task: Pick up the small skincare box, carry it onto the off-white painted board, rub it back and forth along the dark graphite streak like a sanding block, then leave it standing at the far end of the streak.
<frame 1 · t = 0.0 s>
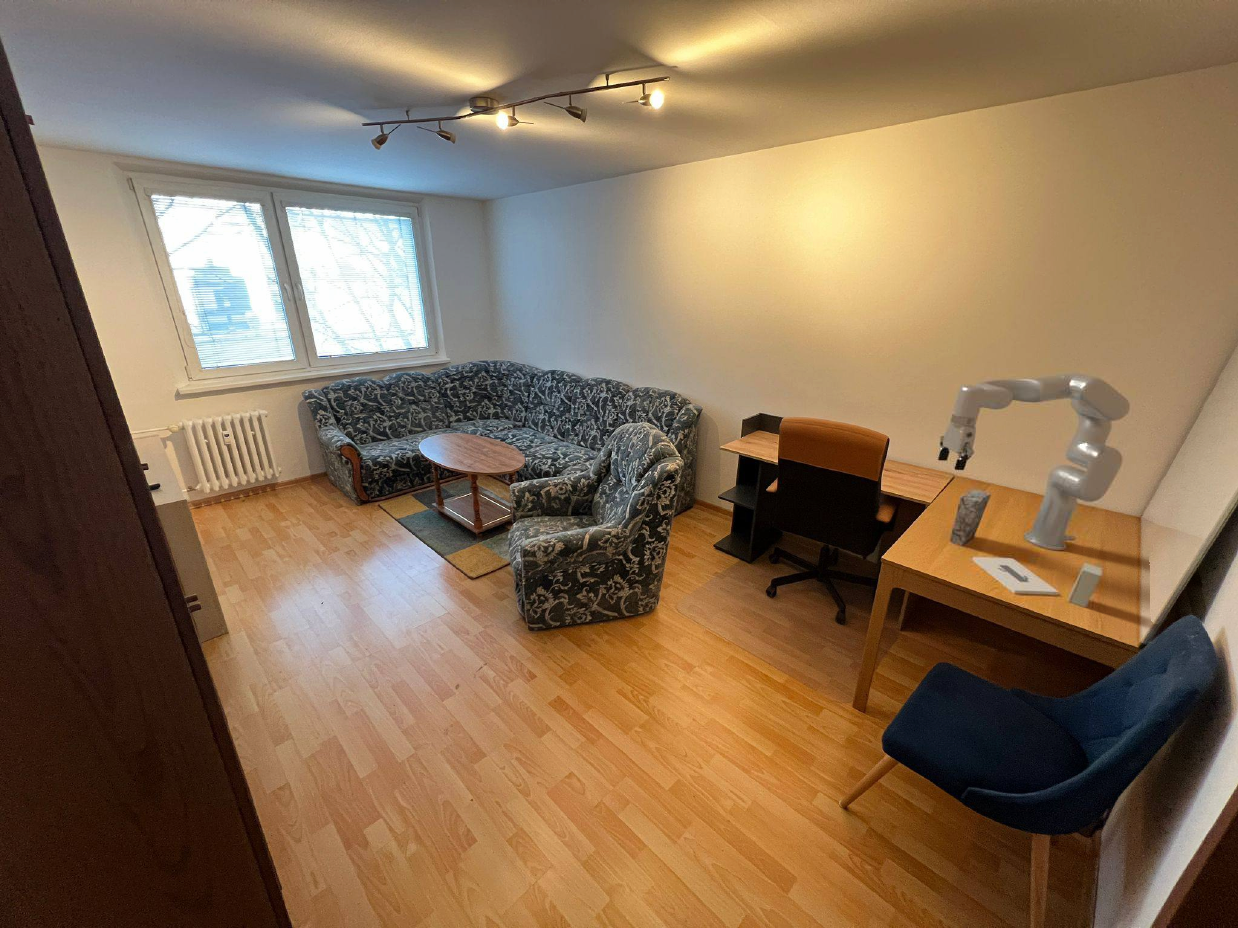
hand: (950, 464, 175), 31 cm above the table, fingers open, 9 cm apart
board: (1012, 576, 163), on the table
skincare box: (1077, 601, 151), on the table
stone block: (961, 540, 186), on the table
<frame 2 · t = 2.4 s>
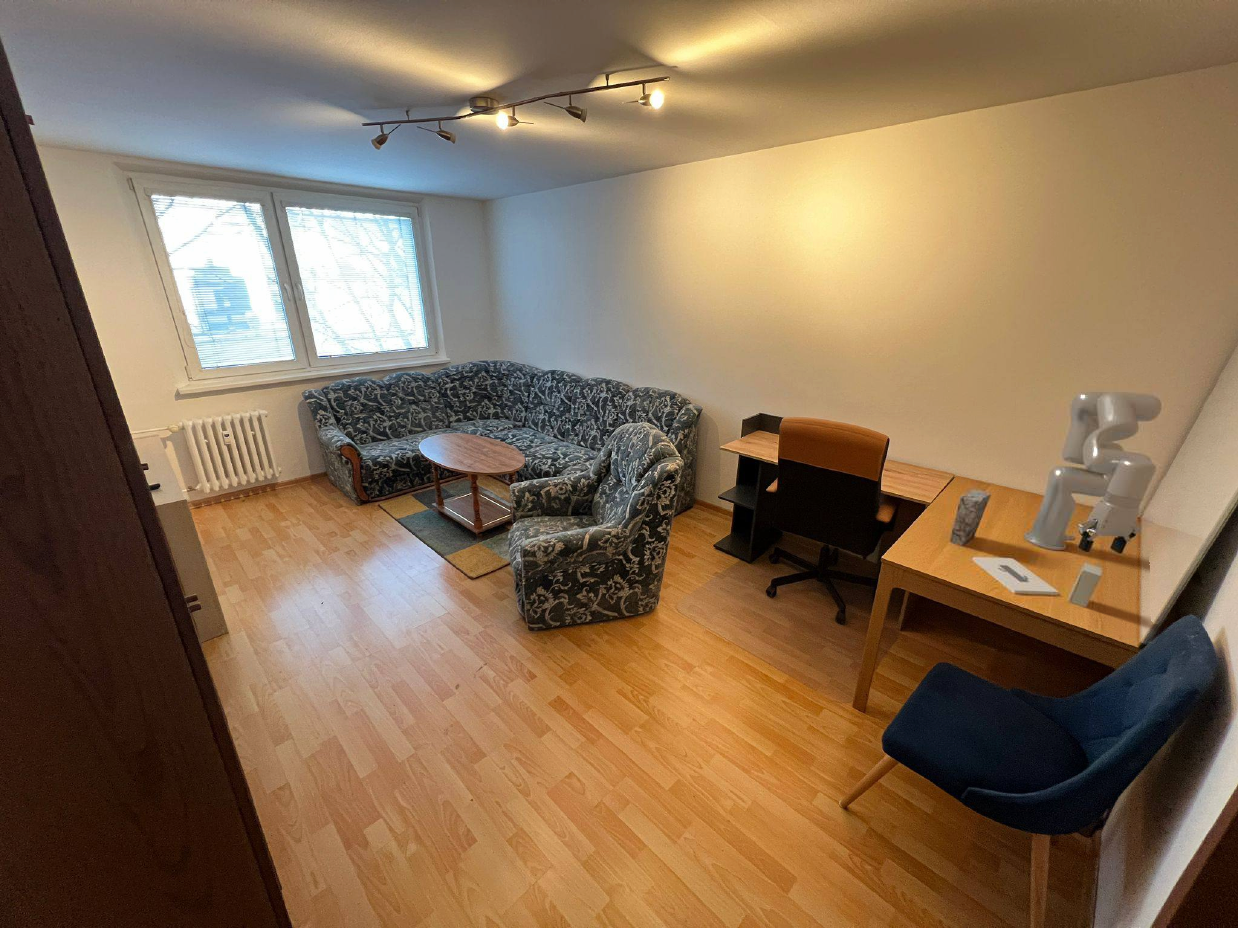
hand: (1099, 550, 144), 18 cm above the table, fingers open, 9 cm apart
nothing on the table moved.
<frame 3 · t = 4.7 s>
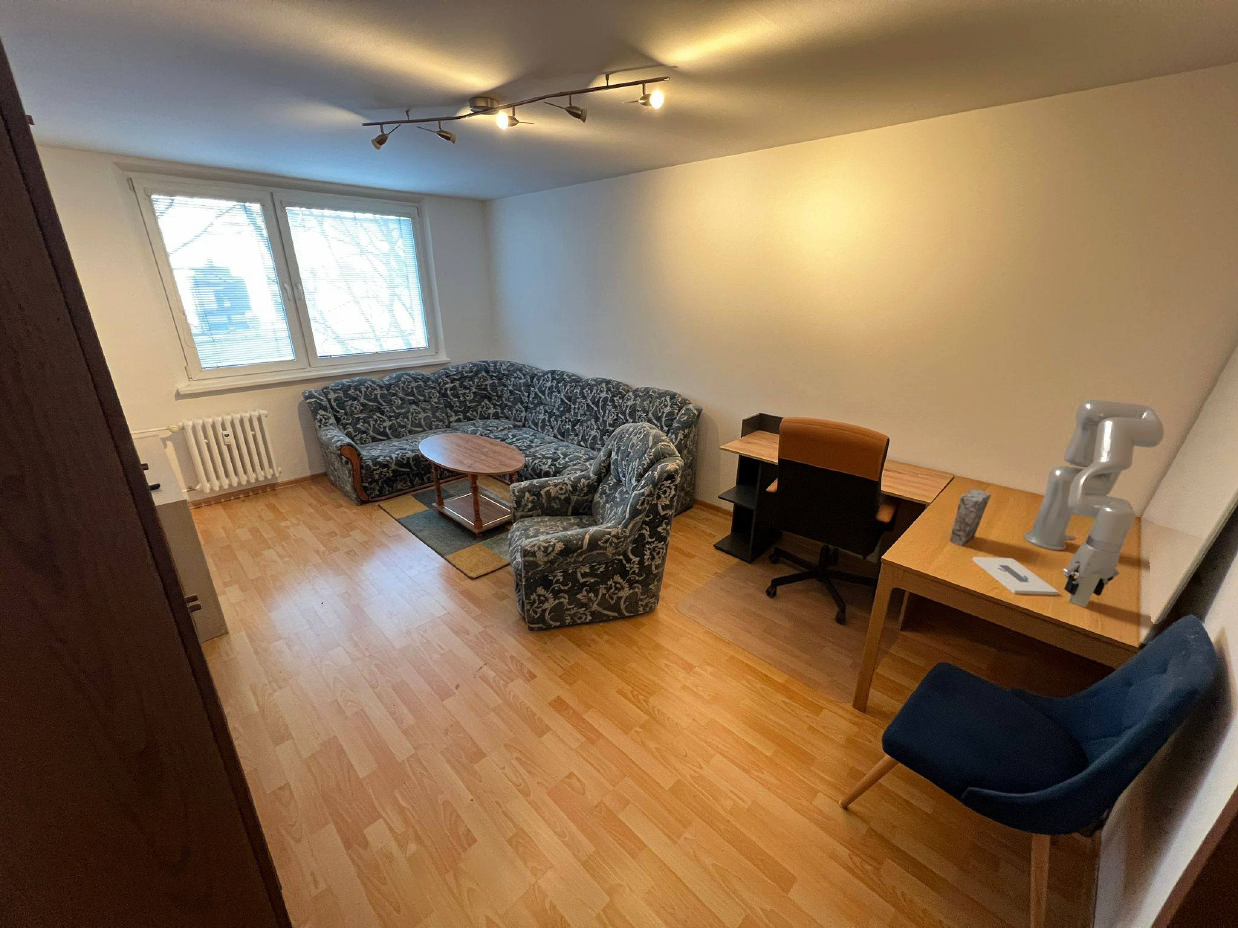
hand: (1081, 592, 150), 3 cm above the table, fingers closed on skincare box, 7 cm apart
skincare box: (1077, 601, 151), on the table, touching gripper
everything else where it was.
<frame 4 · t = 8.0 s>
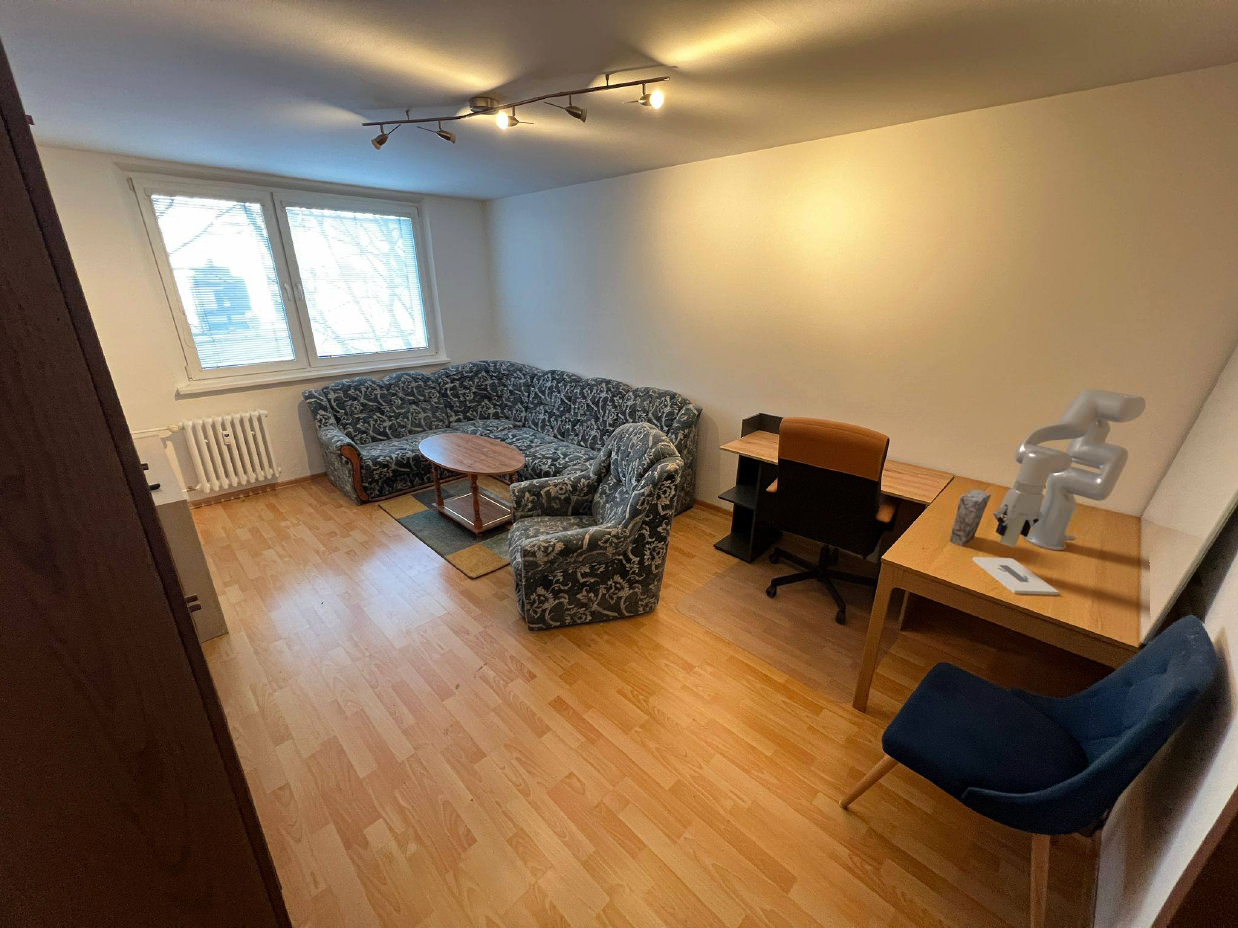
hand: (1011, 534, 164), 13 cm above the table, fingers closed on skincare box, 7 cm apart
skincare box: (1008, 543, 165), point 10 cm above the table, touching gripper
everything else where it was.
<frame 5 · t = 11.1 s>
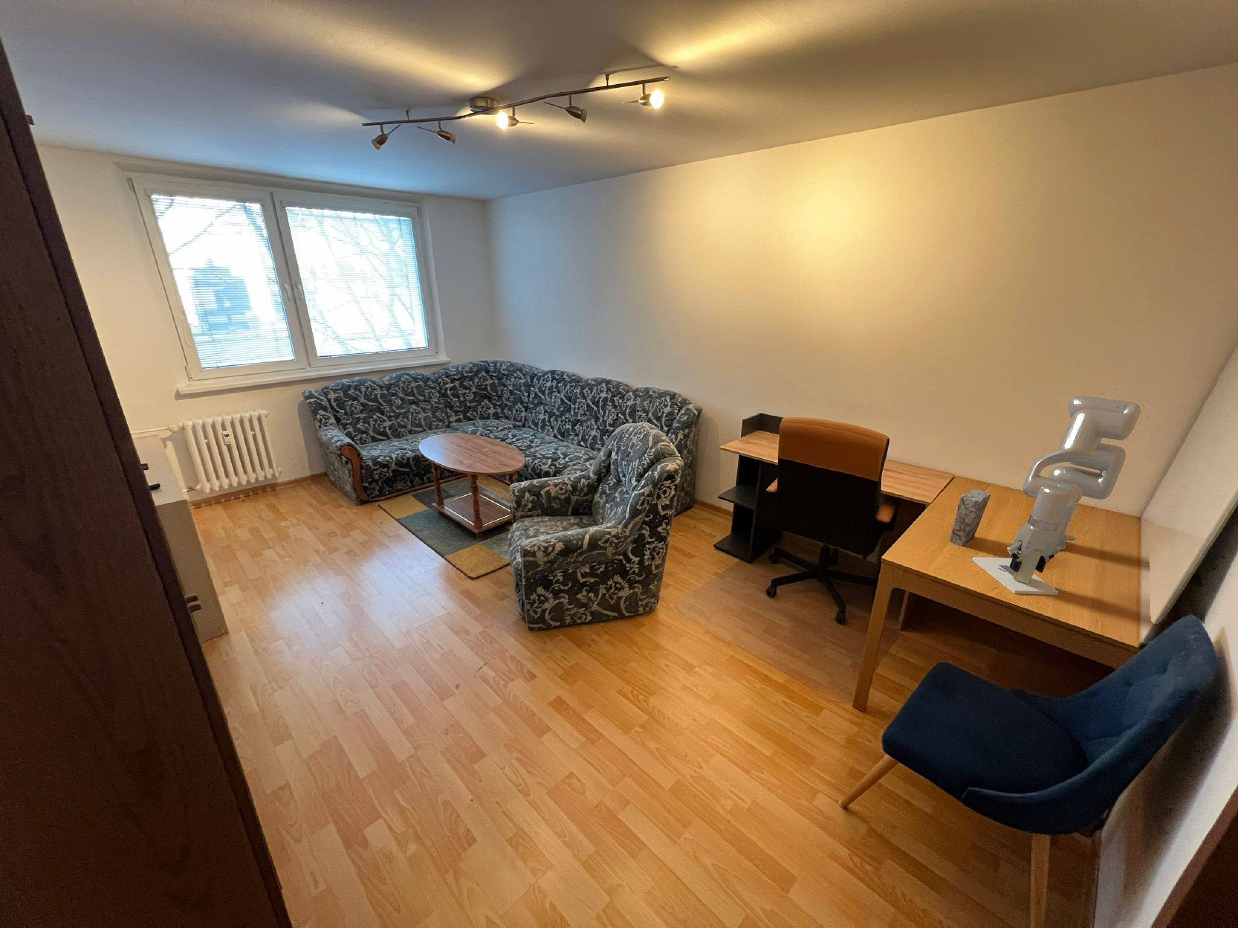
hand: (1025, 569, 158), 5 cm above the table, fingers closed on skincare box, 7 cm apart
skincare box: (1022, 578, 159), point 1 cm above the table, touching gripper
everything else where it was.
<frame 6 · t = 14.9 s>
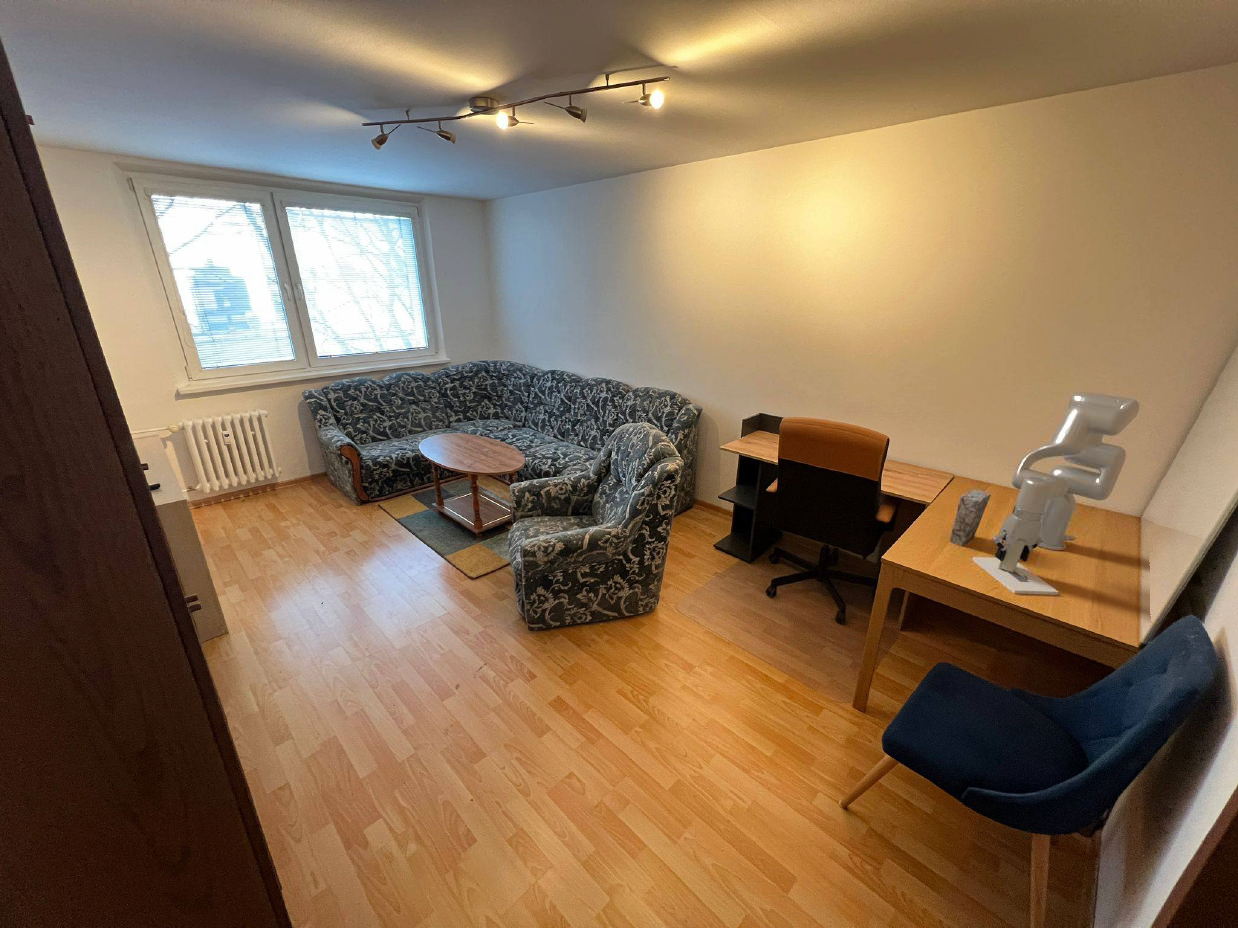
hand: (1010, 558, 164), 5 cm above the table, fingers closed on skincare box, 7 cm apart
skincare box: (1007, 567, 165), point 1 cm above the table, touching gripper
everything else where it was.
when the fingers open (5 cm above the table, at t = 17.8 s): skincare box stays where it is, resting on board.
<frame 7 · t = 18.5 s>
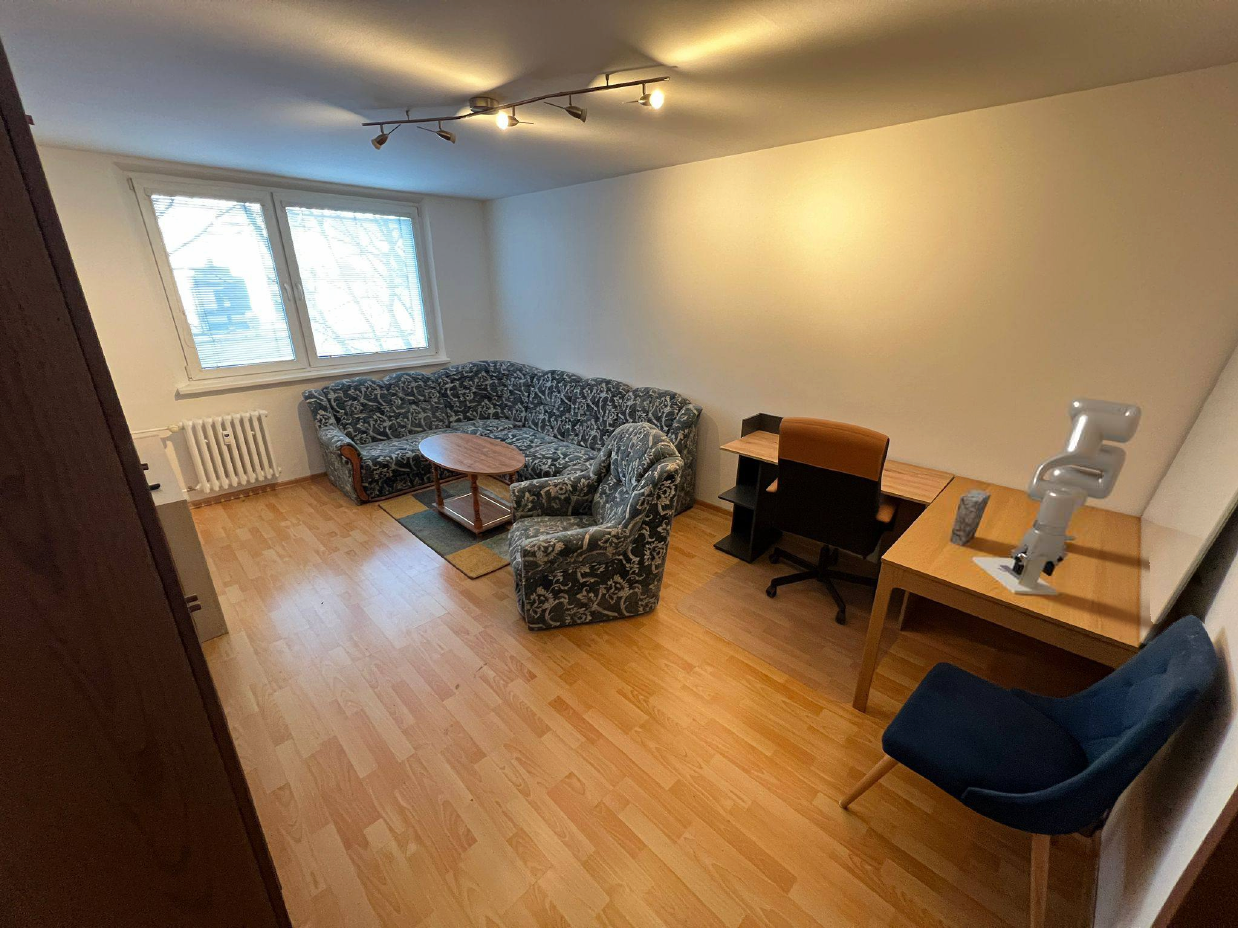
hand: (1031, 573, 156), 5 cm above the table, fingers open, 9 cm apart
skincare box: (1027, 583, 157), point 1 cm above the table, touching board
everything else where it was.
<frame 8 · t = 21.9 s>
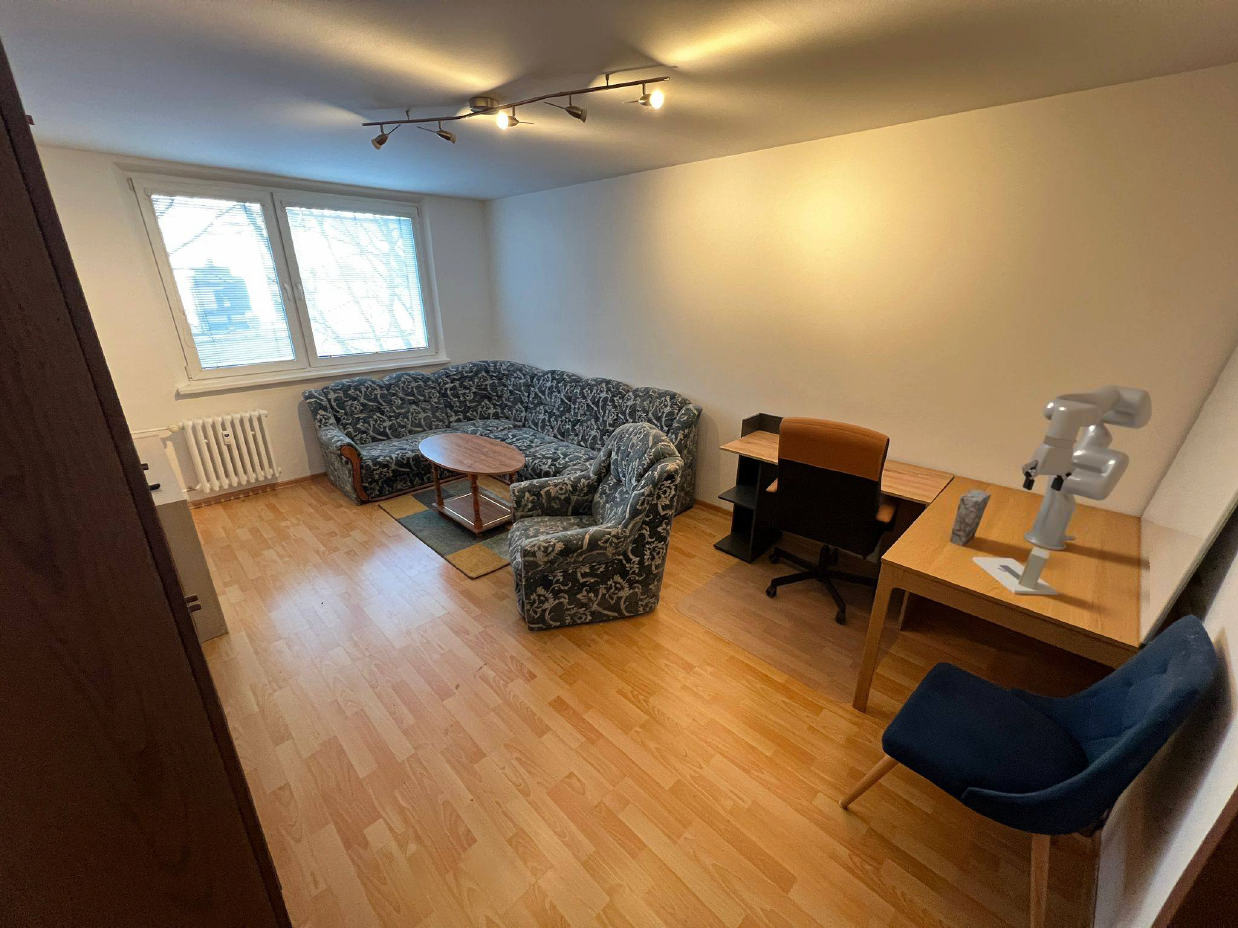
hand: (1040, 489, 163), 28 cm above the table, fingers open, 9 cm apart
nothing on the table moved.
at the end: skincare box inside the target area on the board (0.4 cm from its centre), point 1.0 cm above the board's base; skincare box tilted 1°; the gripper is holding nothing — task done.
